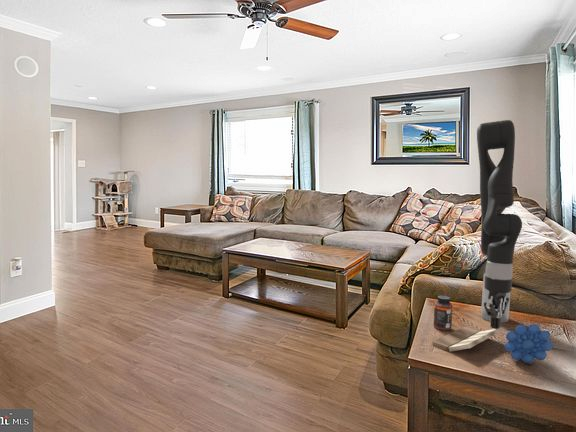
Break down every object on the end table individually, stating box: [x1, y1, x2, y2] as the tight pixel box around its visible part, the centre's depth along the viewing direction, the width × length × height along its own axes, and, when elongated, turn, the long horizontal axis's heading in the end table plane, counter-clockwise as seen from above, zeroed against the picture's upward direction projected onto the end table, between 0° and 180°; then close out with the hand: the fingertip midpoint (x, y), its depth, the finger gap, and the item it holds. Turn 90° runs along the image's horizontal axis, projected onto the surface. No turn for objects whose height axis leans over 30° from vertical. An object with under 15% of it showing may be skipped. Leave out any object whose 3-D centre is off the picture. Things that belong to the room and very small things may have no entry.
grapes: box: [503, 323, 554, 365], centre depth 105 cm, size 12×7×12 cm, turn 60°
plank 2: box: [466, 328, 501, 340], centre depth 118 cm, size 10×7×1 cm
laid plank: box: [432, 326, 480, 352], centre depth 120 cm, size 21×5×1 cm, turn 127°
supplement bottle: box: [433, 295, 454, 331], centre depth 129 cm, size 6×6×11 cm
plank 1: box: [448, 336, 487, 352], centre depth 112 cm, size 10×7×1 cm
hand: (494, 328), depth 117 cm, fingers closed
